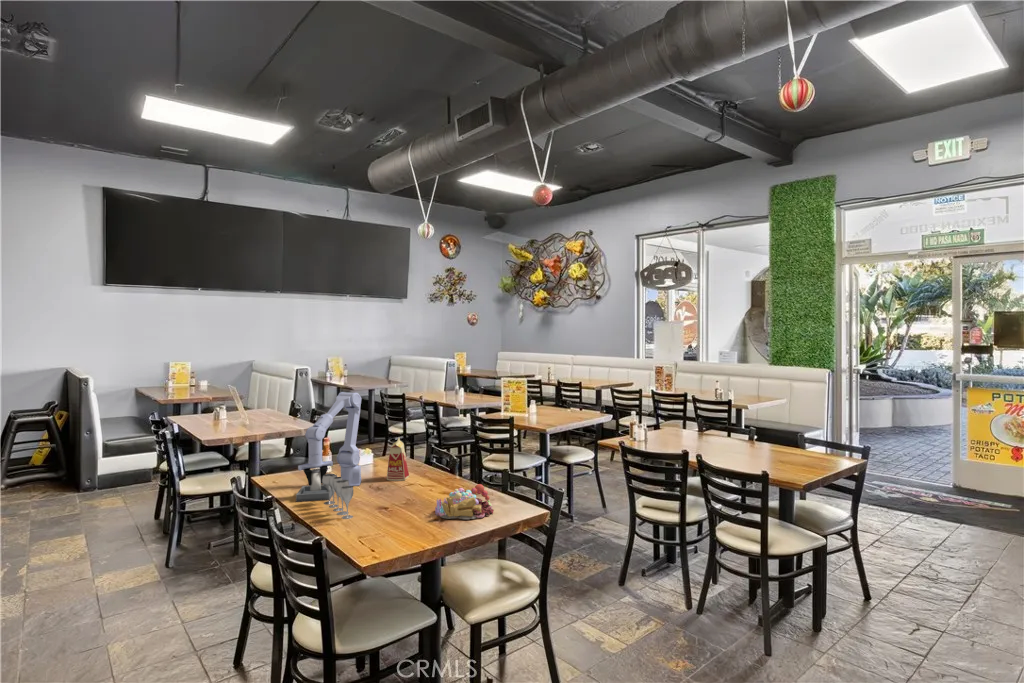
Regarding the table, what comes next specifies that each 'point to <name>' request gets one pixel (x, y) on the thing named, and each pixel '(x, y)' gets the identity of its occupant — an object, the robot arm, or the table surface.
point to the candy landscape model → (465, 504)
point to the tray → (313, 494)
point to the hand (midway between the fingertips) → (315, 484)
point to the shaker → (315, 480)
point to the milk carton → (397, 463)
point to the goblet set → (338, 492)
